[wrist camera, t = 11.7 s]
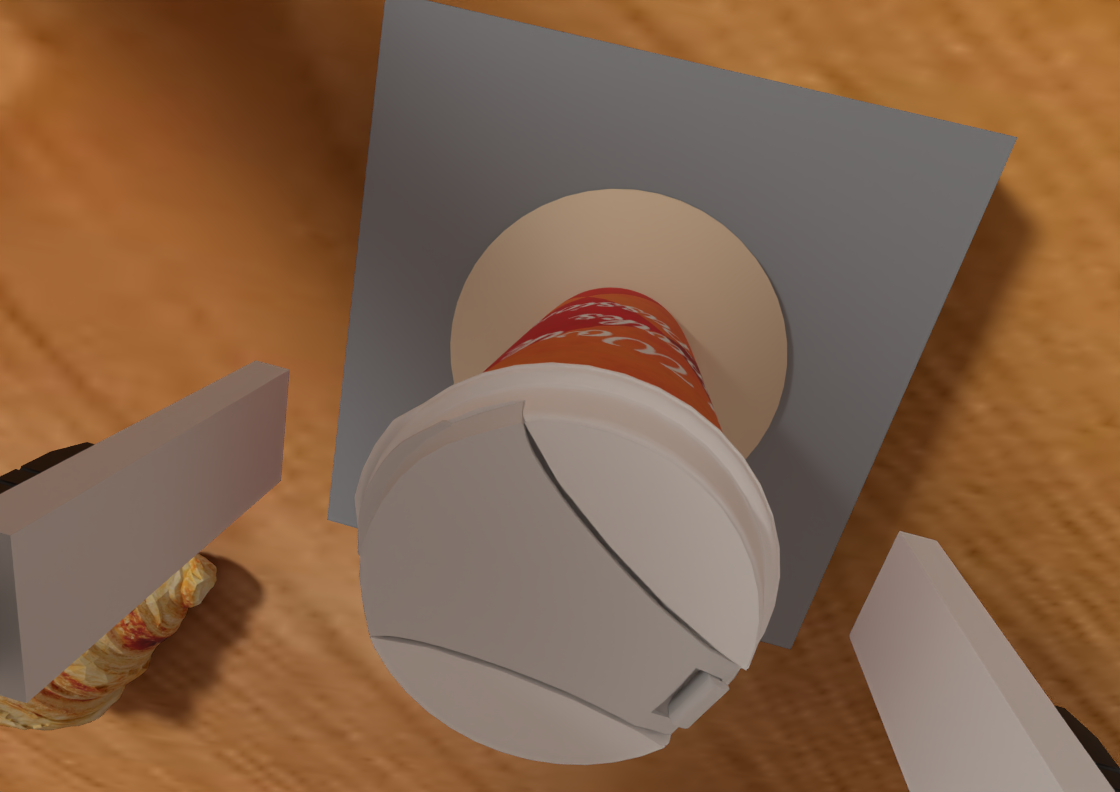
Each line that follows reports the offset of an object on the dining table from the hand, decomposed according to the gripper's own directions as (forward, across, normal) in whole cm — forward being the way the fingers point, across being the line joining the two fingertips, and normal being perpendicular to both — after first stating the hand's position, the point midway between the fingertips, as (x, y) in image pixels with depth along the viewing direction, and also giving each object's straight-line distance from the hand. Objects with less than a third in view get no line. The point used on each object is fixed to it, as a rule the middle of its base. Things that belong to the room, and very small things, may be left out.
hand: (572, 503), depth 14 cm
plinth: (+15, 0, 0) cm, 15 cm away
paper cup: (+11, 0, 0) cm, 11 cm away
